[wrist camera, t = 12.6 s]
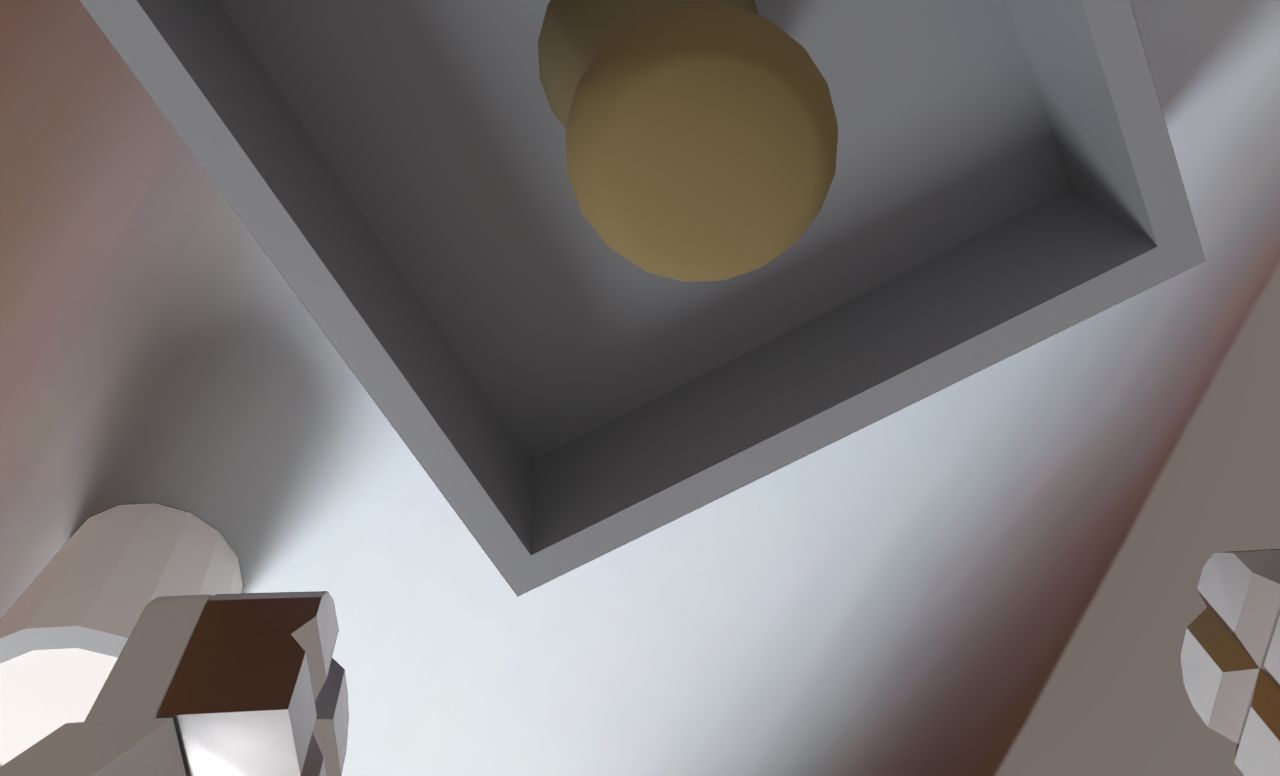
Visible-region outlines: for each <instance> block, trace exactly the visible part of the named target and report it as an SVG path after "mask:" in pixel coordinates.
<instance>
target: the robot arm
mask: <svg viewBox="0 0 1280 776" xmlns="http://www.w3.org/2000/svg"><path fill="white" fill-rule="evenodd" d="M1197 590H1198V592H1199V593H1200V595H1201V597H1202V599H1203V600H1204V602H1205V604H1206V605H1207V609H1205V610H1204V611H1203V612H1202V613H1201V614H1200V615H1199V616H1198V617H1197V618H1196V619H1195V620H1194V621H1193V622H1192V623H1191V624H1190V625H1189V626H1188V627H1187V629H1186V633H1185V638H1184V643H1183V647H1182V652H1181V665H1182V673H1183V680H1184V686H1185V689H1186V691H1187V693H1188V696H1189V698H1190V701H1191V703H1192V706H1193V707H1194V709H1195V710H1196V712H1197V713H1198V714H1199V716H1200V717H1201V718H1202V720H1203V721H1204V722H1205V724H1206V725H1207V727H1209V728H1210V729H1212V730H1214V731H1216V732H1218V733H1219V734H1221V735H1223V736H1224V737H1226V738H1228V739H1230V740H1231V741H1233V742H1235V743H1237V748H1236V755H1235V762H1234V763H1235V764H1236V765H1237V767H1238V768H1239V769H1240V771H1241V772H1242V773H1243V775H1244V776H1280V549H1268V550H1250V551H1232V552H1215V553H1213V555H1212V556H1211V557H1210V559H1209V560H1208V561H1207V563H1206V564H1205V565H1204V567H1203V570H1202V573H1201V577H1200V580H1199V584H1198V587H1197ZM338 631H339V628H338V623H337V617H336V611H335V606H334V600H333V598H332V597H331V595H330V594H329V592H328V591H321V592H280V593H239V594H216V595H215V596H213V595H210V594H204V595H182V596H160V597H157V598H155V599H154V600H152V601H150V602H149V603H148V604H147V605H146V606H145V608H144V610H143V612H142V614H141V615H140V617H139V619H138V621H137V623H136V625H135V627H134V629H133V631H132V632H131V634H130V636H129V638H128V640H127V642H126V644H125V646H124V647H123V649H122V651H121V653H120V655H119V657H118V659H117V661H116V663H115V664H114V666H113V668H112V670H111V672H110V674H109V676H108V678H107V680H106V681H105V683H104V685H103V687H102V689H101V691H100V693H99V695H98V697H97V698H96V700H95V702H94V704H93V706H92V708H91V710H90V712H89V714H88V715H87V717H86V719H85V721H84V722H76V723H65V724H64V725H62V726H61V727H59V728H58V729H56V730H55V731H53V732H52V733H50V734H49V735H47V736H46V737H44V738H43V739H41V740H40V741H38V742H37V743H36V744H34V745H33V746H31V747H30V748H28V749H27V750H25V751H24V752H22V753H21V754H19V755H18V756H16V757H15V758H13V759H12V760H10V761H9V762H7V763H6V764H4V765H3V766H1V767H0V776H341V775H342V770H343V765H344V760H345V755H346V749H347V735H348V721H349V711H348V691H347V683H346V676H345V670H344V669H343V668H342V667H341V666H340V665H339V664H338V663H337V662H336V661H335V660H334V659H333V658H332V655H333V651H334V647H335V643H336V639H337V635H338Z"/></svg>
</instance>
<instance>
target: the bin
mask: <svg viewBox="0 0 1280 776" xmlns="http://www.w3.org/2000/svg"><path fill="white" fill-rule="evenodd" d="M80 1H81V3H82V4H83V5H84V7H85V8H86V10H87V11H88V12H89V14H90V15H91V16H92V18H93V19H94V20H95V22H96V23H97V25H98V26H99V27H100V29H101V30H102V31H103V33H104V34H105V35H106V37H107V38H108V40H109V41H110V42H111V44H112V45H113V46H114V48H115V49H116V50H117V52H118V53H119V54H120V56H121V57H122V59H123V60H124V61H125V63H126V64H127V65H128V67H129V68H130V69H131V71H132V72H133V74H134V75H135V76H136V78H137V79H138V80H139V82H140V83H141V84H142V86H143V87H144V89H145V90H146V91H147V93H148V94H149V95H150V97H151V98H152V99H153V101H154V102H155V103H156V105H157V106H158V108H159V109H160V110H161V112H162V113H163V114H164V116H165V117H166V118H167V120H168V121H169V123H170V124H171V125H172V127H173V128H174V129H175V131H176V132H177V133H178V135H179V136H180V138H181V139H182V140H183V142H184V143H185V144H186V146H187V147H188V148H189V150H190V151H191V153H192V154H193V155H194V157H195V158H196V159H197V161H198V162H199V163H200V165H201V166H202V167H203V169H204V170H205V172H206V173H207V174H208V176H209V177H210V178H211V180H212V181H213V182H214V184H215V185H216V187H217V188H218V189H219V191H220V192H221V193H222V195H223V196H224V197H225V199H226V200H227V202H228V203H229V204H230V206H231V207H232V208H233V210H234V211H235V212H236V214H237V215H238V217H239V218H240V219H241V221H242V222H243V223H244V225H245V226H246V227H247V229H248V230H249V231H250V233H251V234H252V236H253V237H254V238H255V240H256V241H257V242H258V244H259V245H260V246H261V248H262V249H263V251H264V252H265V253H266V255H267V256H268V257H269V259H270V260H271V261H272V263H273V264H274V266H275V267H276V268H277V270H278V271H279V272H280V274H281V275H282V276H283V278H284V279H285V280H286V282H287V283H288V285H289V286H290V287H291V289H292V290H293V291H294V293H295V294H296V295H297V297H298V298H299V300H300V301H301V302H302V304H303V305H304V306H305V308H306V309H307V310H308V312H309V313H310V315H311V316H312V317H313V319H314V320H315V321H316V323H317V324H318V325H319V327H320V328H321V330H322V331H323V332H324V334H325V335H326V336H327V338H328V339H329V340H330V342H331V343H332V344H333V346H334V347H335V349H336V350H337V351H338V353H339V354H340V355H341V357H342V358H343V359H344V361H345V362H346V364H347V365H348V366H349V368H350V369H351V370H352V372H353V373H354V374H355V376H356V377H357V379H358V380H359V381H360V383H361V384H362V385H363V387H364V388H365V389H366V391H367V392H368V394H369V395H370V396H371V398H372V399H373V400H374V402H375V403H376V404H377V406H378V407H379V408H380V410H381V411H382V413H383V414H384V415H385V417H386V418H387V419H388V421H389V422H390V423H391V425H392V426H393V428H394V429H395V430H396V432H397V433H398V434H399V436H400V437H401V438H402V440H403V441H404V443H405V444H406V445H407V447H408V448H409V449H410V451H411V452H412V453H413V455H414V456H415V457H416V459H417V460H418V462H419V463H420V464H421V466H422V467H423V468H424V470H425V471H426V472H427V474H428V475H429V477H430V478H431V479H432V481H433V482H434V483H435V485H436V486H437V487H438V489H439V490H440V492H441V493H442V494H443V496H444V497H445V498H446V500H447V501H448V502H449V504H450V505H451V507H452V508H453V509H454V511H455V512H456V513H457V515H458V516H459V517H460V519H461V520H462V521H463V523H464V524H465V526H466V527H467V528H468V530H469V531H470V532H471V534H472V535H473V536H474V538H475V539H476V541H477V542H478V543H479V545H480V546H481V547H482V549H483V550H484V551H485V553H486V554H487V556H488V557H489V558H490V560H491V561H492V562H493V564H494V565H495V566H496V568H497V569H498V571H499V572H500V573H501V575H502V576H503V577H504V579H505V580H506V581H507V583H508V584H509V585H510V587H511V588H512V590H513V591H514V592H515V594H516V595H517V596H520V595H522V594H524V593H526V592H528V591H530V590H532V589H534V588H536V587H538V586H541V585H543V584H545V583H547V582H549V581H551V580H553V579H555V578H557V577H559V576H561V575H563V574H565V573H567V572H569V571H571V570H573V569H575V568H577V567H579V566H581V565H584V564H586V563H588V562H590V561H592V560H594V559H596V558H598V557H600V556H602V555H604V554H606V553H608V552H610V551H612V550H614V549H616V548H618V547H620V546H622V545H624V544H627V543H629V542H631V541H633V540H635V539H637V538H639V537H641V536H643V535H645V534H647V533H649V532H651V531H653V530H655V529H657V528H659V527H661V526H663V525H665V524H668V523H670V522H672V521H674V520H676V519H678V518H680V517H682V516H684V515H686V514H688V513H690V512H692V511H694V510H696V509H698V508H700V507H702V506H704V505H706V504H708V503H711V502H713V501H715V500H717V499H719V498H721V497H723V496H725V495H727V494H729V493H731V492H733V491H735V490H737V489H739V488H741V487H743V486H745V485H747V484H749V483H751V482H754V481H756V480H758V479H760V478H762V477H764V476H766V475H768V474H770V473H772V472H774V471H776V470H778V469H780V468H782V467H784V466H786V465H788V464H790V463H792V462H794V461H797V460H799V459H801V458H803V457H805V456H807V455H809V454H811V453H813V452H815V451H817V450H819V449H821V448H823V447H825V446H827V445H829V444H831V443H833V442H835V441H838V440H840V439H842V438H844V437H846V436H848V435H850V434H852V433H854V432H856V431H858V430H860V429H862V428H864V427H866V426H868V425H870V424H872V423H874V422H876V421H878V420H881V419H883V418H885V417H887V416H889V415H891V414H893V413H895V412H897V411H899V410H901V409H903V408H905V407H907V406H909V405H911V404H913V403H915V402H917V401H919V400H921V399H924V398H926V397H928V396H930V395H932V394H934V393H936V392H938V391H940V390H942V389H944V388H946V387H948V386H950V385H952V384H954V383H956V382H958V381H960V380H962V379H964V378H967V377H969V376H971V375H973V374H975V373H977V372H979V371H981V370H983V369H985V368H987V367H989V366H991V365H993V364H995V363H997V362H999V361H1001V360H1003V359H1005V358H1008V357H1010V356H1012V355H1014V354H1016V353H1018V352H1020V351H1022V350H1024V349H1026V348H1028V347H1030V346H1032V345H1034V344H1036V343H1038V342H1040V341H1042V340H1044V339H1046V338H1048V337H1051V336H1053V335H1055V334H1057V333H1059V332H1061V331H1063V330H1065V329H1067V328H1069V327H1071V326H1073V325H1075V324H1077V323H1079V322H1081V321H1083V320H1085V319H1087V318H1089V317H1091V316H1094V315H1096V314H1098V313H1100V312H1102V311H1104V310H1106V309H1108V308H1110V307H1112V306H1114V305H1116V304H1118V303H1120V302H1122V301H1124V300H1126V299H1128V298H1130V297H1132V296H1134V295H1137V294H1139V293H1141V292H1143V291H1145V290H1147V289H1149V288H1151V287H1153V286H1155V285H1157V284H1159V283H1161V282H1163V281H1165V280H1167V279H1169V278H1171V277H1173V276H1175V275H1178V274H1180V273H1182V272H1184V271H1186V270H1188V269H1190V268H1192V267H1194V266H1196V265H1198V264H1200V263H1202V262H1204V261H1205V258H1204V254H1203V251H1202V247H1201V244H1200V240H1199V237H1198V233H1197V230H1196V227H1195V223H1194V220H1193V216H1192V213H1191V209H1190V206H1189V202H1188V199H1187V196H1186V192H1185V189H1184V185H1183V182H1182V178H1181V175H1180V171H1179V168H1178V165H1177V161H1176V158H1175V154H1174V151H1173V147H1172V144H1171V140H1170V137H1169V134H1168V130H1167V127H1166V123H1165V120H1164V116H1163V113H1162V109H1161V106H1160V103H1159V99H1158V96H1157V92H1156V89H1155V85H1154V82H1153V78H1152V75H1151V72H1150V68H1149V65H1148V61H1147V58H1146V54H1145V51H1144V47H1143V44H1142V41H1141V37H1140V34H1139V30H1138V27H1137V23H1136V20H1135V16H1134V13H1133V10H1132V6H1131V3H1130V0H754V1H755V4H756V7H757V10H758V13H759V15H760V16H763V17H765V18H766V19H768V20H769V21H770V22H772V23H773V24H774V25H776V26H777V27H778V28H780V29H781V30H782V31H784V32H785V33H786V34H787V35H789V36H790V37H791V38H793V39H794V40H795V41H797V42H798V43H799V44H801V45H802V46H803V47H804V48H805V49H806V51H807V52H808V54H809V56H810V57H811V59H812V60H813V62H814V63H815V65H816V66H817V68H818V69H819V71H820V72H821V74H822V75H823V77H824V79H825V80H826V82H827V83H828V87H829V91H830V95H831V99H832V103H833V107H834V111H835V115H836V119H837V123H838V142H837V157H836V171H835V176H834V178H833V181H832V183H831V186H830V188H829V191H828V193H827V196H826V199H825V201H824V204H823V206H822V209H821V211H820V213H819V214H818V215H817V217H816V218H815V219H814V220H813V222H812V223H811V224H810V225H809V227H808V228H807V229H806V231H805V232H804V233H803V234H802V236H801V237H800V238H799V240H798V241H797V242H796V243H795V244H794V245H793V246H791V247H790V248H789V249H787V250H786V251H784V252H783V253H782V254H780V255H779V256H777V257H776V258H775V259H773V260H772V261H770V262H769V263H768V264H766V265H765V266H763V267H762V268H759V269H756V270H753V271H750V272H747V273H744V274H741V275H739V276H736V277H733V278H730V279H727V280H722V281H698V282H683V281H679V280H675V279H672V278H668V277H664V276H660V275H656V274H653V273H649V272H646V271H645V270H643V269H642V268H640V267H639V266H637V265H636V264H634V263H632V262H631V261H629V260H628V259H626V258H625V257H623V256H622V255H620V254H618V253H617V252H615V251H614V250H612V249H611V248H610V247H608V246H607V245H606V243H605V242H604V241H603V240H602V238H601V237H600V236H599V235H598V233H597V232H596V231H595V230H594V229H593V227H592V226H591V225H590V224H589V222H588V221H587V220H586V219H585V217H584V216H583V215H582V213H581V210H580V207H579V205H578V202H577V199H576V197H575V194H574V191H573V189H572V186H571V183H570V181H569V178H568V173H567V151H566V129H565V128H564V126H563V125H562V124H561V123H560V121H559V120H558V119H557V117H556V116H555V115H554V114H553V112H552V110H551V107H550V105H549V102H548V99H547V96H546V94H545V91H544V88H543V86H542V83H541V80H540V73H539V52H538V40H539V36H540V32H541V28H542V24H543V21H544V17H545V13H546V9H547V5H548V4H549V2H550V1H551V0H80Z"/></svg>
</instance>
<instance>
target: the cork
mask: <svg viewBox="0 0 1280 776" xmlns="http://www.w3.org/2000/svg"><path fill="white" fill-rule="evenodd" d="M538 52H539V73H540V80H541V83H542V86H543V88H544V91H545V94H546V96H547V99H548V102H549V105H550V107H551V110H552V112H553V114H554V115H555V116H556V117H557V119H558V120H559V121H560V123H561V124H562V125H563V126H564V128H565V129H566V151H567V173H568V178H569V181H570V183H571V186H572V189H573V191H574V194H575V197H576V199H577V202H578V205H579V207H580V210H581V213H582V215H583V216H584V217H585V219H586V220H587V221H588V222H589V224H590V225H591V226H592V227H593V229H594V230H595V231H596V232H597V233H598V235H599V236H600V237H601V238H602V240H603V241H604V242H605V243H606V245H607V246H608V247H610V248H611V249H612V250H614V251H615V252H617V253H618V254H620V255H622V256H623V257H625V258H626V259H628V260H629V261H631V262H632V263H634V264H636V265H637V266H639V267H640V268H642V269H643V270H645V271H646V272H649V273H653V274H656V275H660V276H664V277H668V278H672V279H675V280H679V281H683V282H698V281H722V280H727V279H730V278H733V277H736V276H739V275H741V274H744V273H747V272H750V271H753V270H756V269H759V268H762V267H763V266H765V265H766V264H768V263H769V262H770V261H772V260H773V259H775V258H776V257H777V256H779V255H780V254H782V253H783V252H784V251H786V250H787V249H789V248H790V247H791V246H793V245H794V244H795V243H796V242H797V241H798V240H799V238H800V237H801V236H802V234H803V233H804V232H805V231H806V229H807V228H808V227H809V225H810V224H811V223H812V222H813V220H814V219H815V218H816V217H817V215H818V214H819V213H820V211H821V209H822V206H823V204H824V201H825V199H826V196H827V193H828V191H829V188H830V186H831V183H832V181H833V178H834V176H835V171H836V157H837V142H838V123H837V119H836V115H835V111H834V107H833V103H832V99H831V95H830V91H829V87H828V83H827V82H826V80H825V79H824V77H823V75H822V74H821V72H820V71H819V69H818V68H817V66H816V65H815V63H814V62H813V60H812V59H811V57H810V56H809V54H808V52H807V51H806V49H805V48H804V47H803V46H802V45H801V44H799V43H798V42H797V41H795V40H794V39H793V38H791V37H790V36H789V35H787V34H786V33H785V32H784V31H782V30H781V29H780V28H778V27H777V26H776V25H774V24H773V23H772V22H770V21H769V20H768V19H766V18H765V17H763V16H760V15H759V13H758V10H757V7H756V4H755V1H754V0H551V1H550V2H549V4H548V5H547V9H546V13H545V17H544V21H543V24H542V28H541V32H540V36H539V40H538Z"/></svg>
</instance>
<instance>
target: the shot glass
mask: <svg viewBox="0 0 1280 776" xmlns="http://www.w3.org/2000/svg"><path fill="white" fill-rule="evenodd" d="M242 588H243V582H242V576H241V571H240V566H239V560H238V557H237V555H236V554H235V553H234V551H233V550H232V548H231V547H230V546H229V544H228V543H227V542H226V540H225V539H224V537H223V536H222V535H221V533H220V532H219V531H217V530H216V529H214V528H213V527H211V526H210V525H208V524H207V523H205V522H204V521H202V520H201V519H199V518H198V517H196V516H195V515H193V514H192V513H189V512H185V511H182V510H178V509H174V508H171V507H167V506H164V505H160V504H156V503H150V504H127V505H118V506H116V507H113V508H111V509H108V510H106V511H104V512H101V513H99V514H96V515H94V516H91V517H89V518H88V519H87V520H86V521H85V522H84V524H83V525H82V526H81V527H80V528H79V529H78V530H77V531H76V532H75V533H74V534H73V535H72V536H71V538H70V539H69V540H68V541H67V542H66V543H65V544H64V546H63V547H62V548H61V549H60V550H59V552H58V553H57V554H56V555H55V556H54V557H53V559H52V560H51V561H50V562H49V563H48V564H47V566H46V567H45V568H44V569H43V570H42V571H41V573H40V574H39V575H38V576H37V577H36V579H35V580H34V581H33V582H32V583H31V584H30V586H29V587H28V588H27V589H26V590H25V591H24V593H23V594H22V595H21V596H20V597H19V599H18V600H17V601H16V602H15V603H14V604H13V606H12V607H11V608H10V609H9V610H8V611H7V613H6V614H5V615H4V616H3V617H2V619H1V620H0V767H1V766H3V765H4V764H6V763H7V762H9V761H10V760H12V759H13V758H15V757H16V756H18V755H19V754H21V753H22V752H24V751H25V750H27V749H28V748H30V747H31V746H33V745H34V744H36V743H37V742H38V741H40V740H41V739H43V738H44V737H46V736H47V735H49V734H50V733H52V732H53V731H55V730H56V729H58V728H59V727H61V726H62V725H64V724H65V723H76V722H84V721H85V719H86V717H87V715H88V714H89V712H90V710H91V708H92V706H93V704H94V702H95V700H96V698H97V697H98V695H99V693H100V691H101V689H102V687H103V685H104V683H105V681H106V680H107V678H108V676H109V674H110V672H111V670H112V668H113V666H114V664H115V663H116V661H117V659H118V657H119V655H120V653H121V651H122V649H123V647H124V646H125V644H126V642H127V640H128V638H129V636H130V634H131V632H132V631H133V629H134V627H135V625H136V623H137V621H138V619H139V617H140V615H141V614H142V612H143V610H144V608H145V606H146V605H147V604H148V603H149V602H150V601H152V600H154V599H155V598H157V597H160V596H182V595H204V594H210V595H213V596H215V595H216V594H239V593H241V592H242Z"/></svg>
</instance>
